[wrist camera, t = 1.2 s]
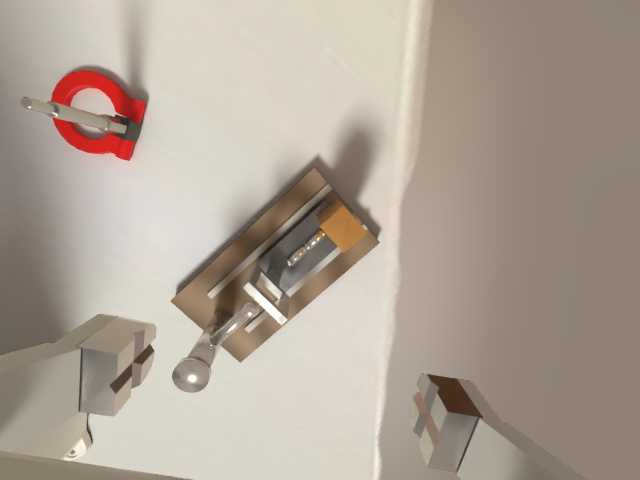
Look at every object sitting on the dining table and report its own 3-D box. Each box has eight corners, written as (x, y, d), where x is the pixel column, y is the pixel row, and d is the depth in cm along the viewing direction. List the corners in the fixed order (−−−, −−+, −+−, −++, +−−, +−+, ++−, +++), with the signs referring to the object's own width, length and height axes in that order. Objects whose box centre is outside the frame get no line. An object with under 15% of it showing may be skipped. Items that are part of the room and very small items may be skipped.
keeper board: (242, 355, 41) (240, 364, 39) (175, 296, 38) (169, 302, 36) (376, 239, 38) (380, 243, 36) (313, 167, 35) (314, 167, 34)
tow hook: (51, 135, 34) (131, 169, 34) (-109, 110, 21) (24, 163, 22) (69, 60, 32) (152, 97, 33) (-91, -16, 19) (51, 47, 20)
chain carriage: (286, 290, 37) (280, 325, 28) (256, 260, 36) (241, 288, 27) (359, 225, 35) (377, 242, 27) (330, 193, 34) (339, 200, 26)
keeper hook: (223, 334, 38) (191, 398, 27) (204, 317, 37) (164, 376, 27) (274, 289, 37) (262, 337, 26) (256, 271, 36) (236, 313, 26)
